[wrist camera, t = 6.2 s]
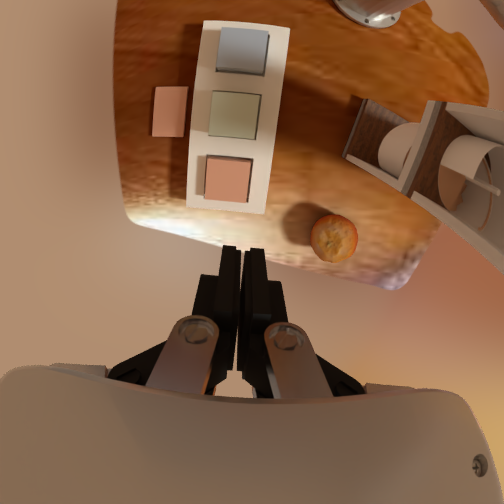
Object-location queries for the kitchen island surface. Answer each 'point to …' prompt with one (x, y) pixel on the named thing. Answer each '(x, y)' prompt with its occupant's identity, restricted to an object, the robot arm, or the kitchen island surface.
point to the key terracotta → (227, 178)
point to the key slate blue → (242, 50)
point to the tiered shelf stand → (441, 165)
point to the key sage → (233, 115)
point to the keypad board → (253, 149)
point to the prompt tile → (170, 111)
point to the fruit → (334, 238)
